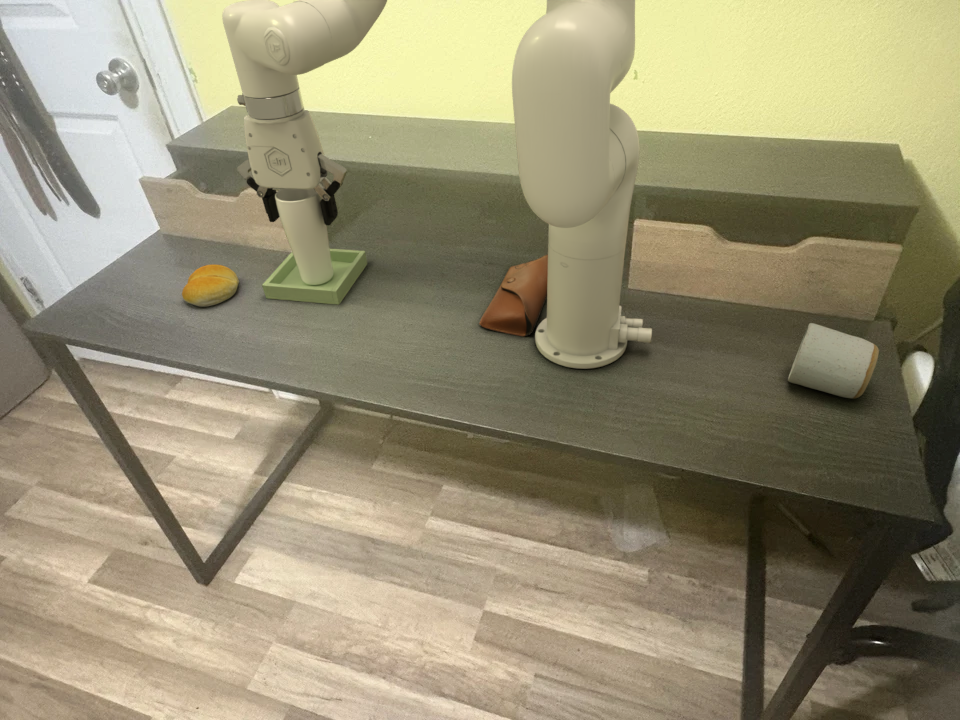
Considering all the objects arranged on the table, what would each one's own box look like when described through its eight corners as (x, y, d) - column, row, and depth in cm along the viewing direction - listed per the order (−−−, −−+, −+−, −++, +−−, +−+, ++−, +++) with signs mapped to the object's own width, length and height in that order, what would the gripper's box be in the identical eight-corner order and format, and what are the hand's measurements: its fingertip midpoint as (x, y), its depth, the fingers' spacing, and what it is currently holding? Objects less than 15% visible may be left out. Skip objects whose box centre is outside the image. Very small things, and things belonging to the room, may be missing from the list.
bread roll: (179, 311, 99) (170, 289, 97) (196, 281, 106) (188, 260, 104) (232, 306, 100) (224, 285, 97) (245, 277, 106) (238, 256, 104)
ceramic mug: (857, 414, 74) (880, 362, 70) (783, 393, 78) (800, 343, 73) (865, 363, 81) (886, 314, 77) (797, 346, 85) (813, 298, 80)
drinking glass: (329, 290, 101) (308, 202, 91) (290, 287, 102) (265, 201, 93) (344, 268, 106) (326, 183, 97) (307, 266, 107) (285, 182, 98)
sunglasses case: (508, 264, 104) (528, 234, 100) (544, 286, 105) (565, 258, 100) (476, 327, 91) (497, 296, 86) (517, 352, 92) (540, 323, 87)
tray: (367, 263, 108) (365, 250, 106) (339, 304, 98) (336, 291, 97) (300, 258, 110) (296, 246, 109) (265, 298, 101) (261, 285, 99)
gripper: (203, 112, 86) (240, 228, 96) (322, 114, 82) (346, 234, 93) (232, 95, 91) (264, 206, 102) (344, 96, 88) (365, 211, 99)
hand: (303, 219), depth 98 cm, fingers open, 8 cm apart
